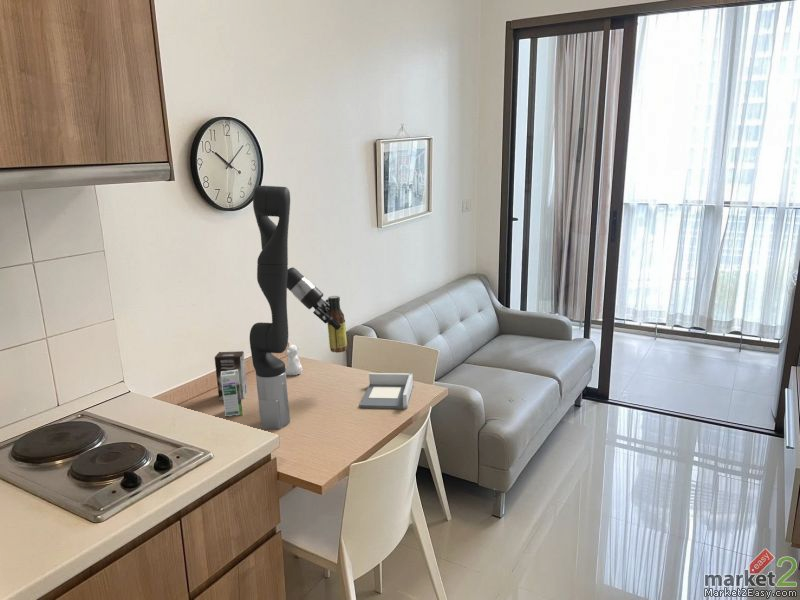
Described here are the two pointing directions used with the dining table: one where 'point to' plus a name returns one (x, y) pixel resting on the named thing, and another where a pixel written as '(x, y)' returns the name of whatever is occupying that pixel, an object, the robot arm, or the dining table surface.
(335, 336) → the sauce bottle
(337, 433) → the dining table surface
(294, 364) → the sitting furry creature
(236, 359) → the coffee box
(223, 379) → the syrup box
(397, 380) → the grey tray
